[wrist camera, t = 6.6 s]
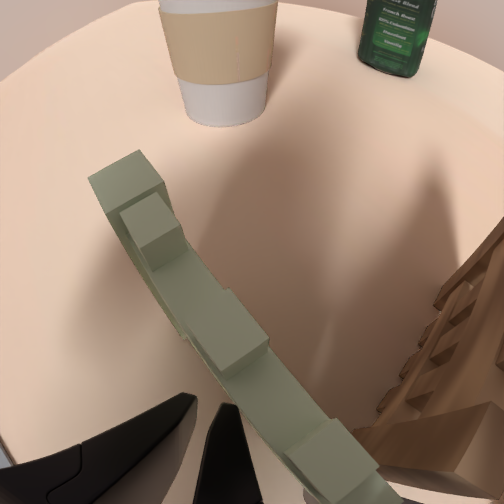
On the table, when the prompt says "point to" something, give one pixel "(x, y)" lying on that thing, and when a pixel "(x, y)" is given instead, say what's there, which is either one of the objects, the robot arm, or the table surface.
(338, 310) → the table surface
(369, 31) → the coffee jar
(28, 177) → the table surface
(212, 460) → the robot arm
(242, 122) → the coffee cup
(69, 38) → the table surface
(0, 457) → the card
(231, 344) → the sage fence section
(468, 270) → the walnut fence section
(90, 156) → the table surface
